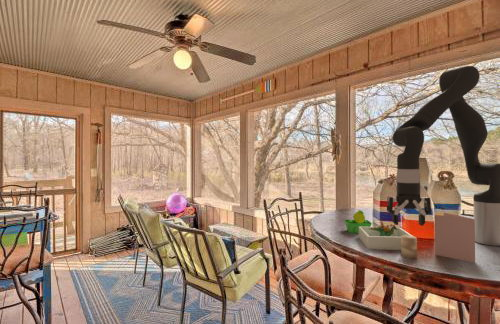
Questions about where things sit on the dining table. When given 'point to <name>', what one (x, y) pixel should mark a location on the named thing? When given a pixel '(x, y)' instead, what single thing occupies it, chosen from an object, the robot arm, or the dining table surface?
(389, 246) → the tray
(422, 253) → the dining table surface
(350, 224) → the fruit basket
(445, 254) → the greeting card
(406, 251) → the maple cylinder
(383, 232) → the green branched piece
